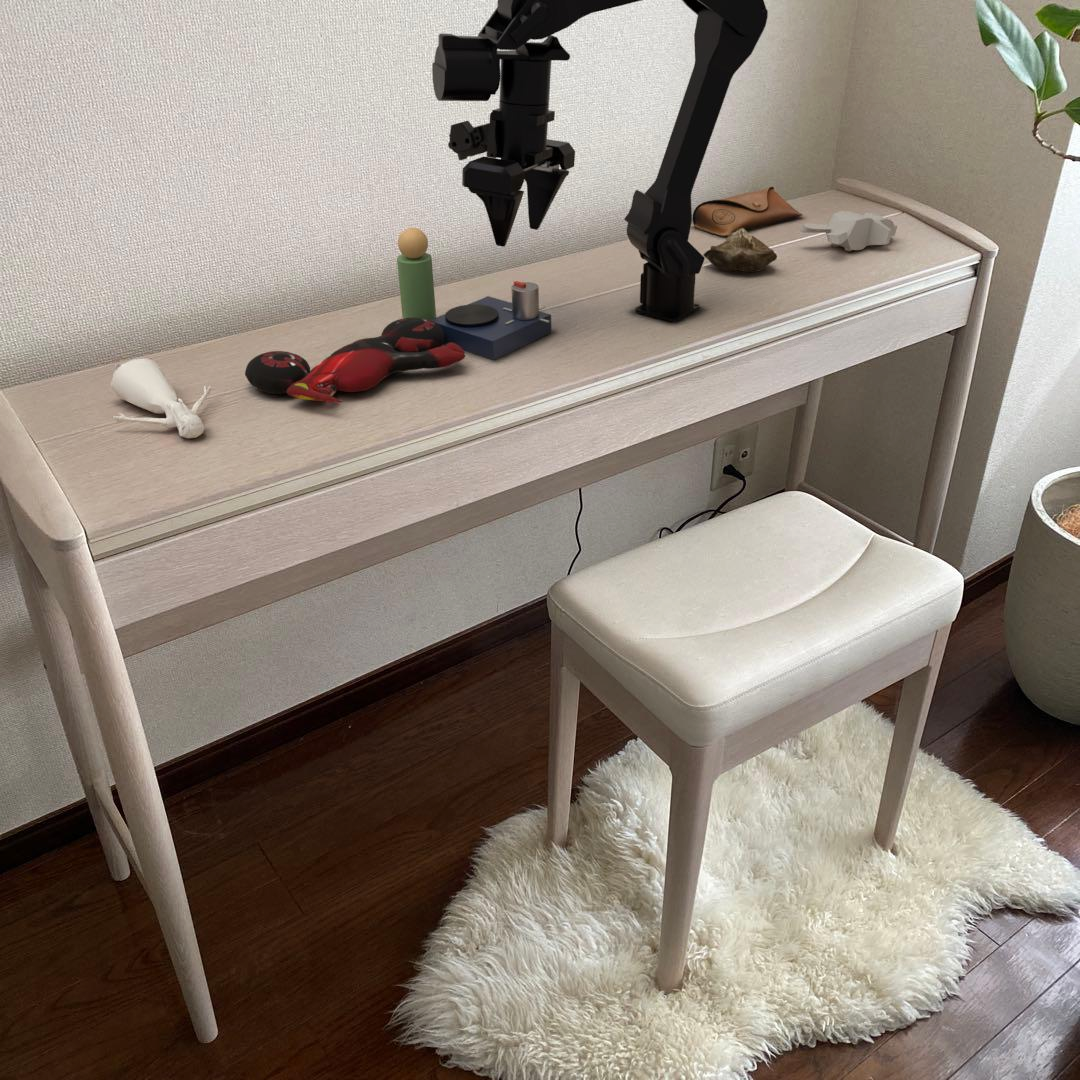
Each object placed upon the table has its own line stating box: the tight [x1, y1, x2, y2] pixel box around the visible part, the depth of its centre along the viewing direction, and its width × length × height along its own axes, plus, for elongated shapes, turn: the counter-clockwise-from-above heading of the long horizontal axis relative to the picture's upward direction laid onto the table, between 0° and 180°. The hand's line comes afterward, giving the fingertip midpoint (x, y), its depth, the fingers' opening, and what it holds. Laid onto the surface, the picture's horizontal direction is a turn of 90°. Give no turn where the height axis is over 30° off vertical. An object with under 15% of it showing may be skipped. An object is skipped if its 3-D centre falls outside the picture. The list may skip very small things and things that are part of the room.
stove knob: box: [511, 280, 540, 320], centre depth 134 cm, size 3×3×4 cm
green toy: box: [396, 227, 437, 320], centre depth 136 cm, size 4×4×13 cm
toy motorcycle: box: [244, 317, 467, 403], centre depth 125 cm, size 25×5×16 cm
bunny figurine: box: [799, 210, 898, 252], centre depth 162 cm, size 10×5×15 cm
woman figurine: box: [110, 357, 212, 439], centre depth 118 cm, size 12×4×18 cm
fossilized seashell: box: [702, 228, 778, 273], centre depth 154 cm, size 8×7×10 cm
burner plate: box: [445, 304, 499, 328], centre depth 135 cm, size 7×7×1 cm
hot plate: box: [431, 295, 552, 361], centre depth 136 cm, size 12×12×3 cm
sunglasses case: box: [692, 186, 803, 237], centre depth 174 cm, size 18×7×7 cm
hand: (517, 237), depth 130 cm, fingers open, 9 cm apart
